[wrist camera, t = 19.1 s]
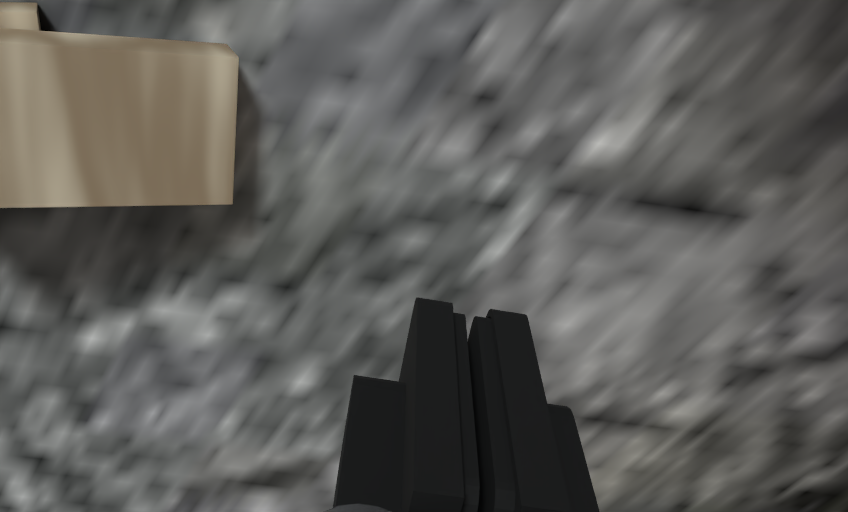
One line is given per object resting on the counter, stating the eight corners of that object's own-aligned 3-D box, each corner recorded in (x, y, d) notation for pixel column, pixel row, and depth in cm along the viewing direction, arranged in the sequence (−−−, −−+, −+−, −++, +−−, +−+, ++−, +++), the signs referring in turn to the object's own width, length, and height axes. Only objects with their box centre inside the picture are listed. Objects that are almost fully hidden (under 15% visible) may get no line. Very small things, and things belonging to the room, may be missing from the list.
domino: (239, 57, 24) (-146, 33, 20) (232, 204, 26) (-118, 209, 22) (226, 43, 26) (-130, 18, 22) (221, 182, 28) (-105, 183, 24)
